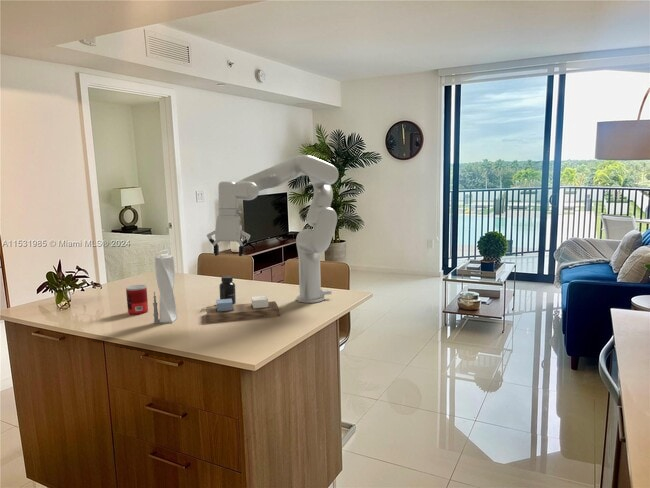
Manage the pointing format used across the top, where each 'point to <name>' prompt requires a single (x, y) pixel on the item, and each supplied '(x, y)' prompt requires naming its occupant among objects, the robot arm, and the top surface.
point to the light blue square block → (224, 305)
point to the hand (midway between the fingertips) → (228, 255)
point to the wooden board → (242, 312)
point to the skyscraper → (165, 289)
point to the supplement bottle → (227, 289)
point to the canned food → (137, 299)
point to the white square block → (260, 302)
